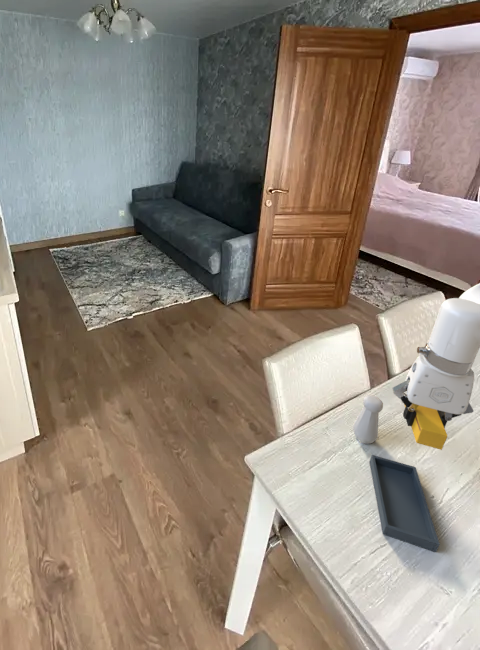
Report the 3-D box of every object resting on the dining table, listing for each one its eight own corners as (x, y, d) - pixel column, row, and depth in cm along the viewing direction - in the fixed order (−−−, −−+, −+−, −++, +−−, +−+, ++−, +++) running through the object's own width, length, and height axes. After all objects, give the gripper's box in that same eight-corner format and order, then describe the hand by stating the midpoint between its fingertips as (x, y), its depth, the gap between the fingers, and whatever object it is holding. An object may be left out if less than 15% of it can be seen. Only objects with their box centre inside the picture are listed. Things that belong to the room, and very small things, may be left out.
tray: (412, 474, 81) (415, 466, 80) (435, 552, 67) (439, 544, 66) (369, 461, 84) (371, 454, 83) (382, 534, 69) (385, 526, 69)
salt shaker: (378, 436, 90) (390, 399, 85) (372, 451, 86) (384, 413, 81) (354, 423, 94) (364, 387, 89) (347, 437, 90) (358, 400, 85)
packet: (441, 450, 70) (447, 436, 69) (416, 442, 72) (421, 429, 70) (426, 408, 80) (431, 395, 78) (403, 403, 81) (408, 390, 80)
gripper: (403, 359, 68) (381, 426, 75) (509, 382, 63) (475, 452, 70) (395, 337, 75) (375, 401, 81) (490, 356, 69) (461, 422, 76)
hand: (421, 424), depth 75 cm, fingers closed on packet, 4 cm apart
